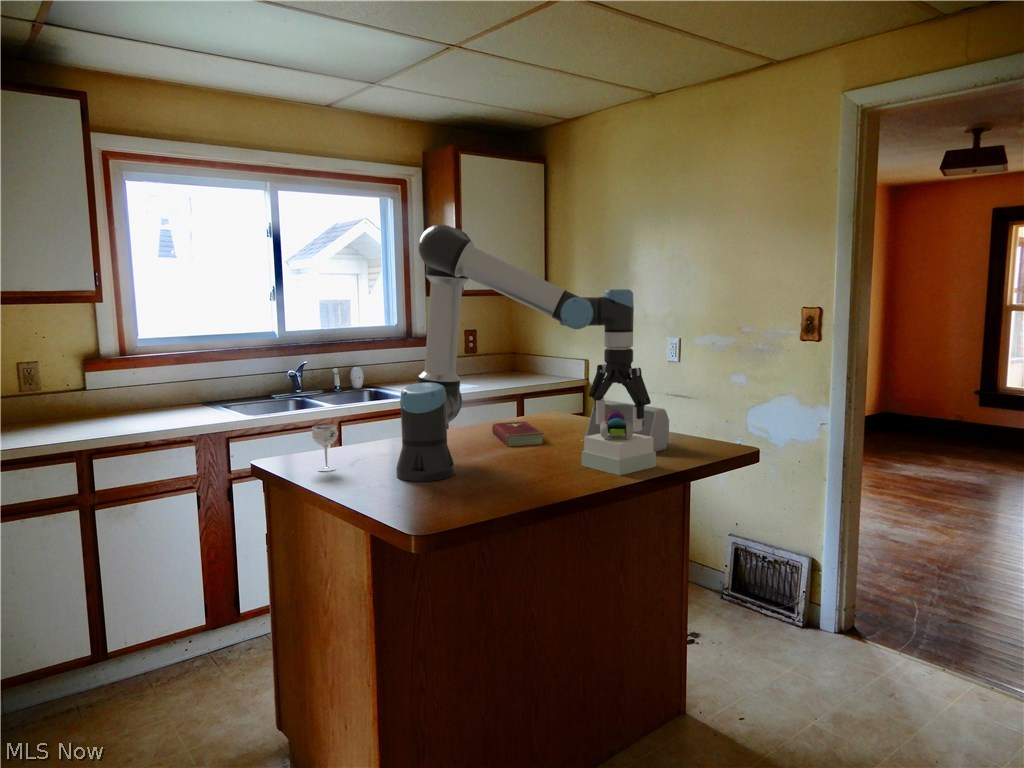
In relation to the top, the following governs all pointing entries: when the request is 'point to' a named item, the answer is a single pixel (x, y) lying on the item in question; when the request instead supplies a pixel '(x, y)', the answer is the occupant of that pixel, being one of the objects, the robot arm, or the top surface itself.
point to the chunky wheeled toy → (616, 425)
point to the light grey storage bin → (652, 422)
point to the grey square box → (618, 453)
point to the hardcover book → (517, 433)
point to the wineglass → (324, 436)
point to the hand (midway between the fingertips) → (618, 427)
